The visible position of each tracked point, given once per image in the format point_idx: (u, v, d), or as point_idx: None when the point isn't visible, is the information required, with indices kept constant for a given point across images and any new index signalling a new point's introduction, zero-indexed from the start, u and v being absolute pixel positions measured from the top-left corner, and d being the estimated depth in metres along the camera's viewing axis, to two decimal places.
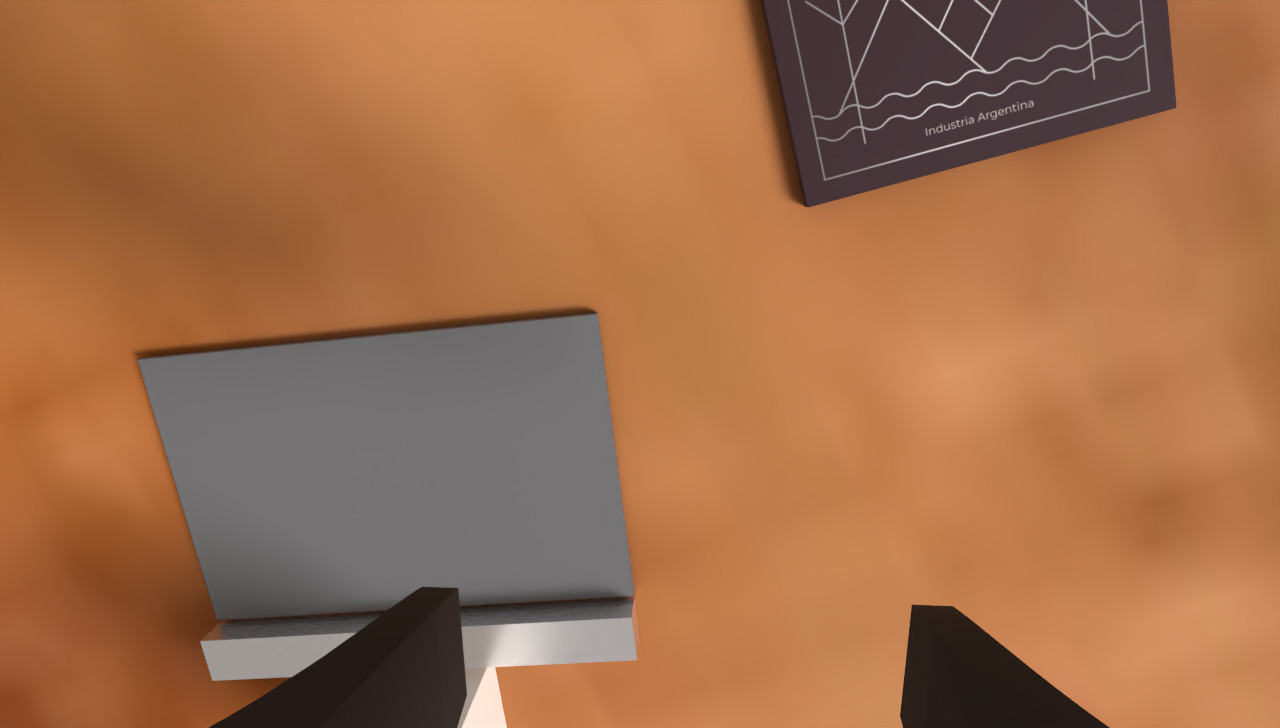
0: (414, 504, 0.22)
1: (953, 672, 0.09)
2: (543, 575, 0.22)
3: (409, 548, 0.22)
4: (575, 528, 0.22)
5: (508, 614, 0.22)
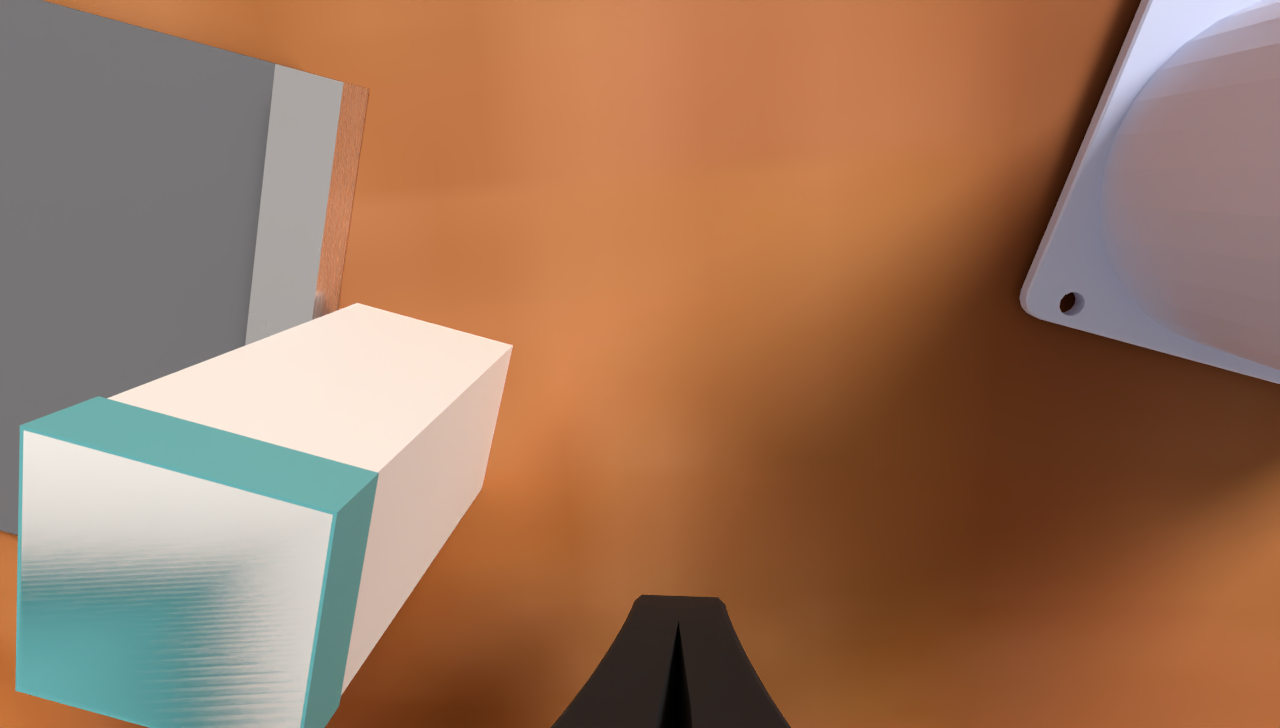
0: (120, 298, 0.18)
1: (681, 660, 0.09)
2: (240, 180, 0.17)
3: (177, 331, 0.18)
4: (182, 109, 0.16)
5: None
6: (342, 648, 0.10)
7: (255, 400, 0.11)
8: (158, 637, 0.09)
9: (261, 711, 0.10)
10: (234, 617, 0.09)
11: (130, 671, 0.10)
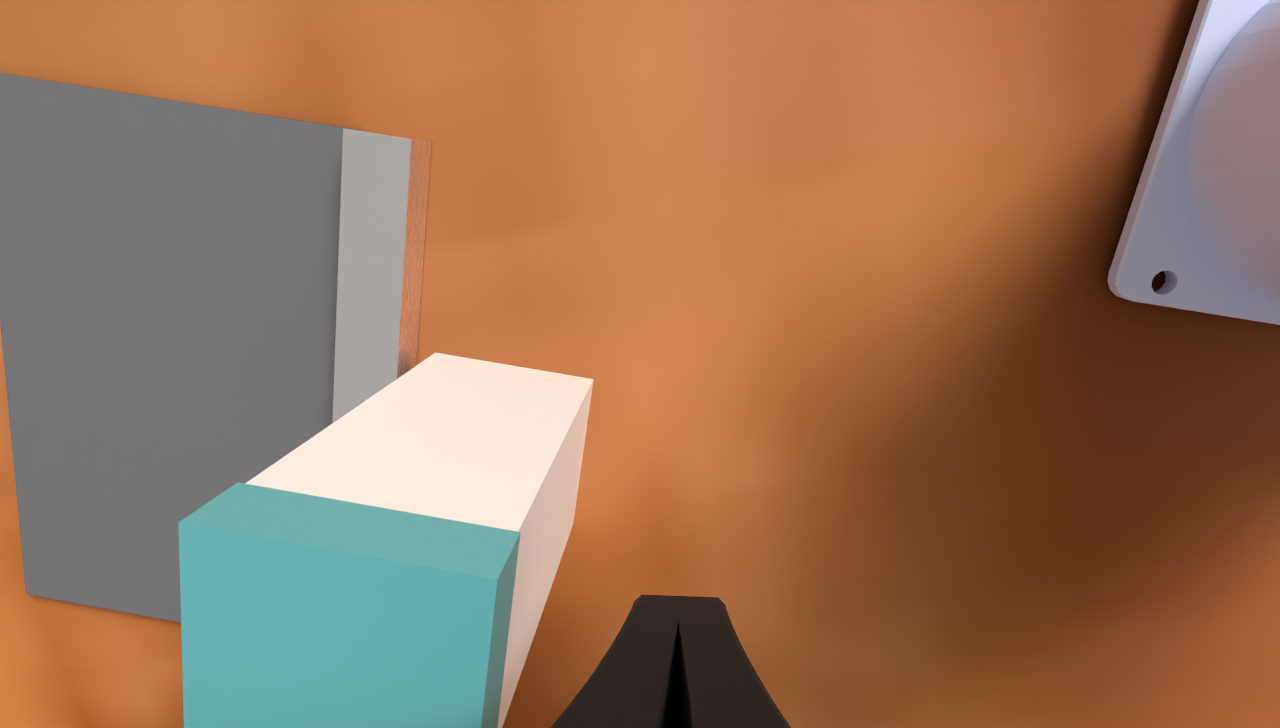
0: (204, 371, 0.18)
1: (681, 660, 0.09)
2: (313, 244, 0.17)
3: (262, 398, 0.18)
4: (251, 181, 0.16)
5: None
6: (496, 709, 0.10)
7: (379, 468, 0.11)
8: (324, 717, 0.09)
9: None
10: (399, 691, 0.09)
11: None
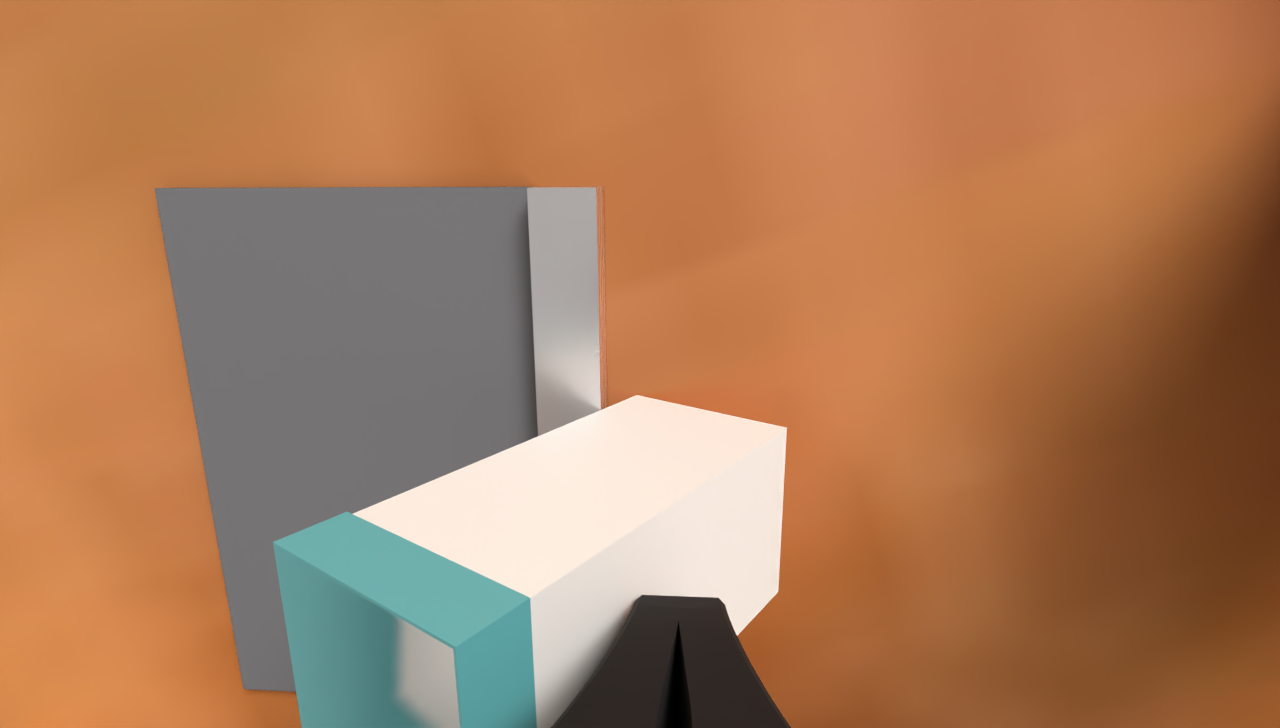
0: (400, 446, 0.18)
1: (681, 660, 0.09)
2: (496, 306, 0.17)
3: (458, 464, 0.18)
4: (429, 253, 0.17)
5: None
6: None
7: (470, 511, 0.11)
8: None
9: None
10: None
11: None
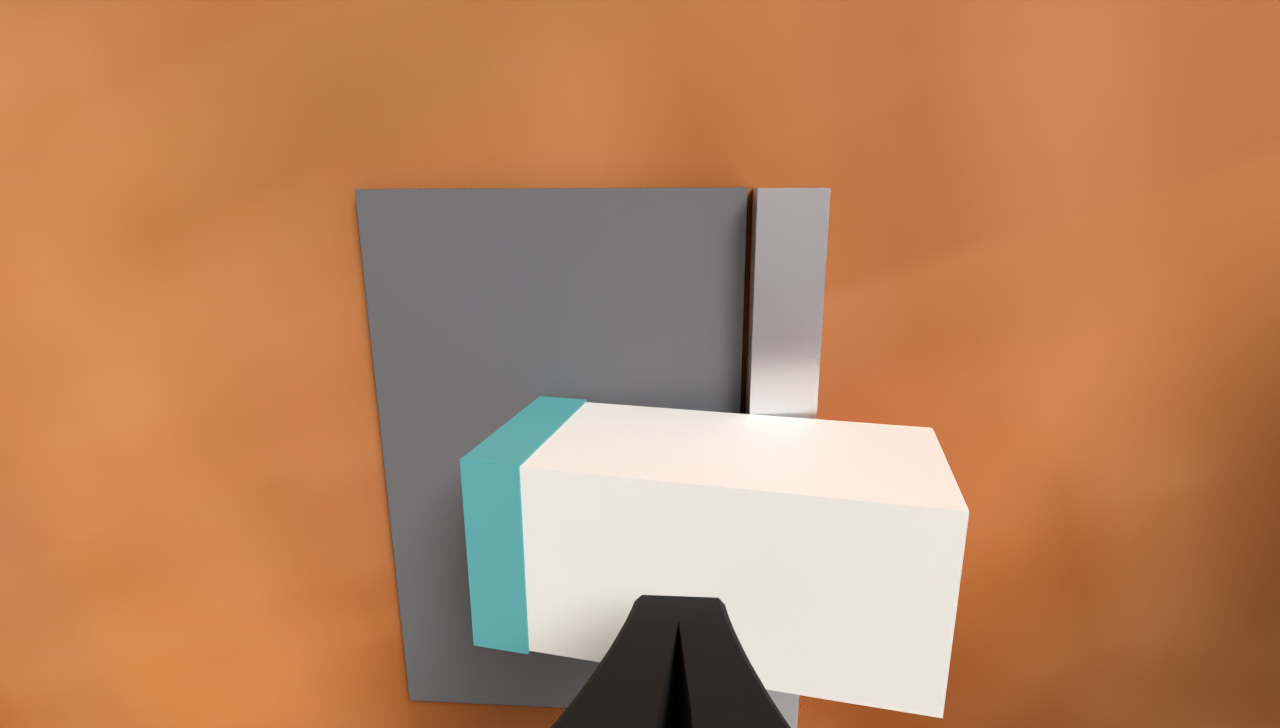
0: None
1: (681, 660, 0.09)
2: (704, 309, 0.16)
3: None
4: (637, 256, 0.16)
5: (749, 364, 0.16)
6: (513, 596, 0.14)
7: (619, 426, 0.15)
8: None
9: None
10: None
11: None
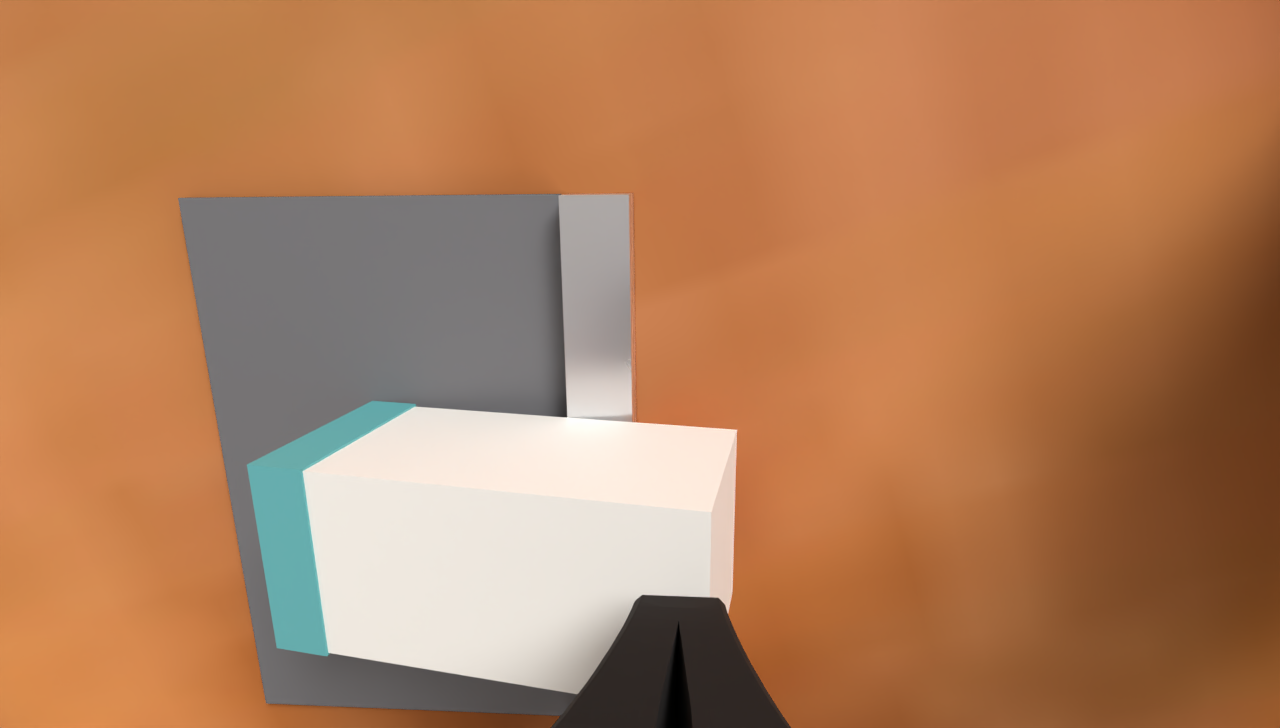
0: None
1: (681, 660, 0.09)
2: (525, 314, 0.17)
3: None
4: (457, 262, 0.16)
5: None
6: (308, 599, 0.14)
7: (429, 430, 0.15)
8: None
9: None
10: None
11: None
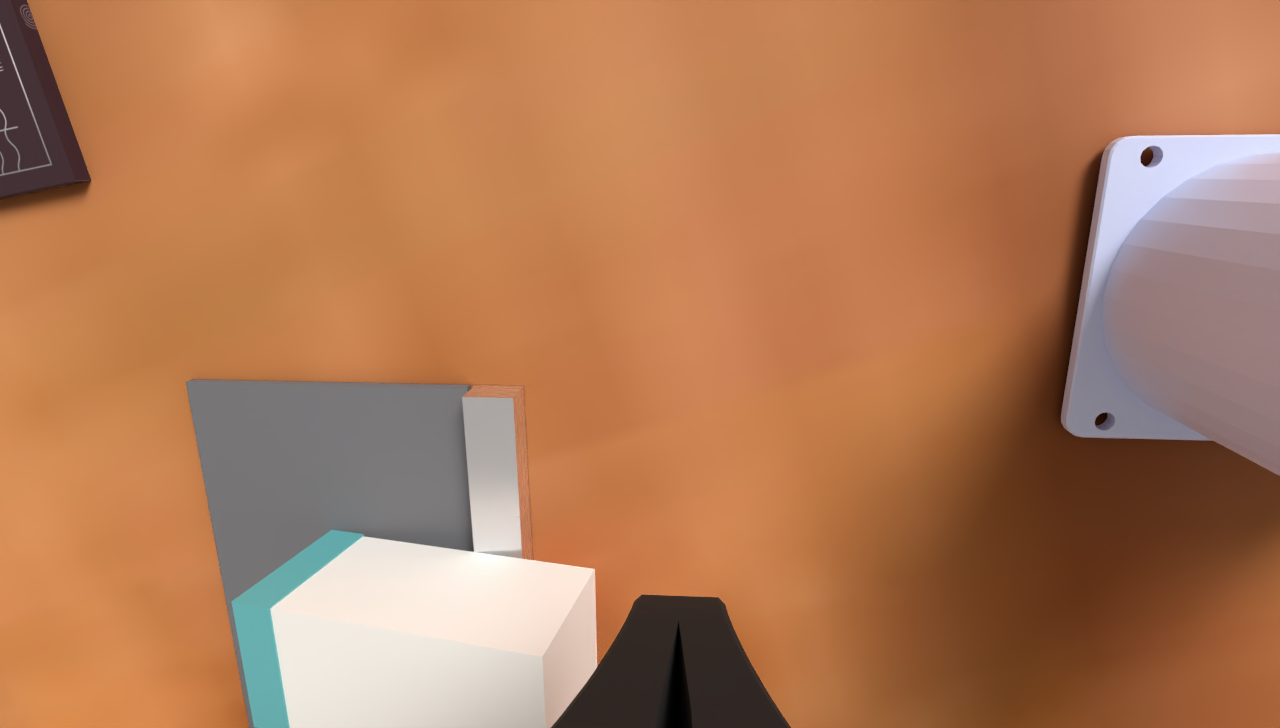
0: None
1: (681, 660, 0.09)
2: (444, 471, 0.22)
3: None
4: (393, 432, 0.22)
5: None
6: (275, 695, 0.20)
7: (368, 565, 0.21)
8: None
9: None
10: None
11: None
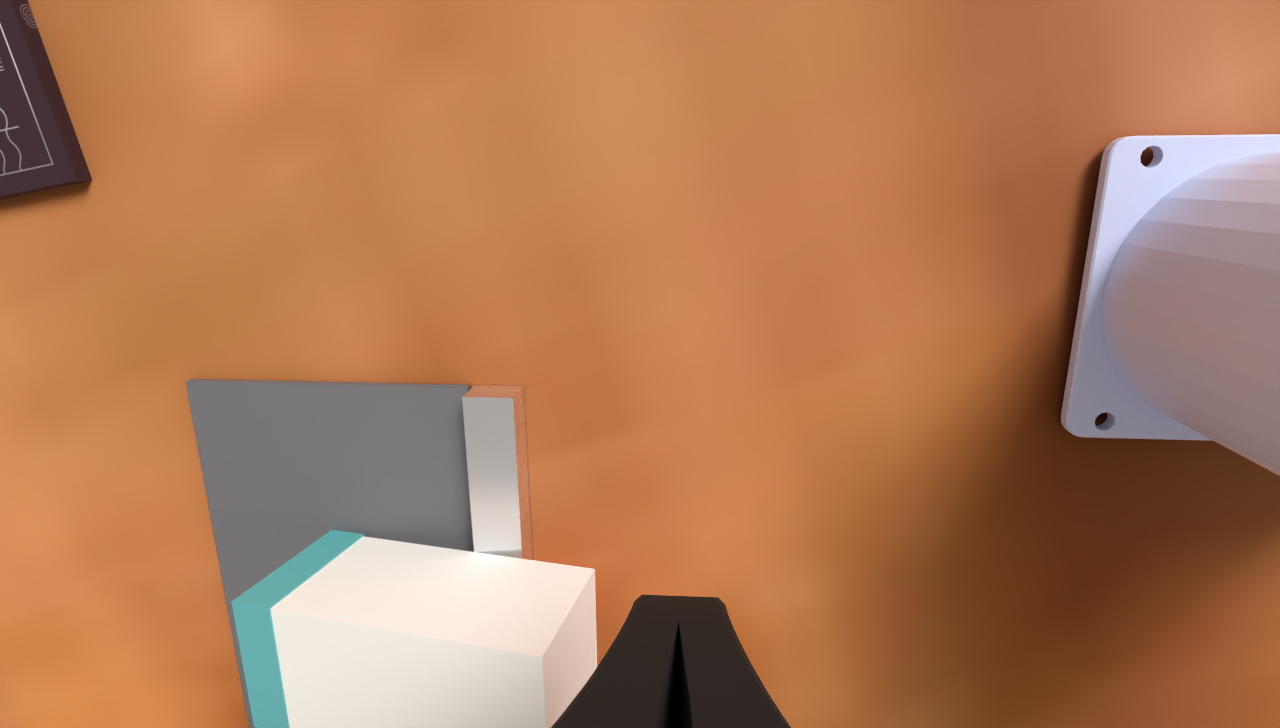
0: None
1: (681, 660, 0.09)
2: (444, 471, 0.22)
3: None
4: (393, 432, 0.22)
5: None
6: (275, 695, 0.20)
7: (368, 565, 0.21)
8: None
9: None
10: None
11: None
